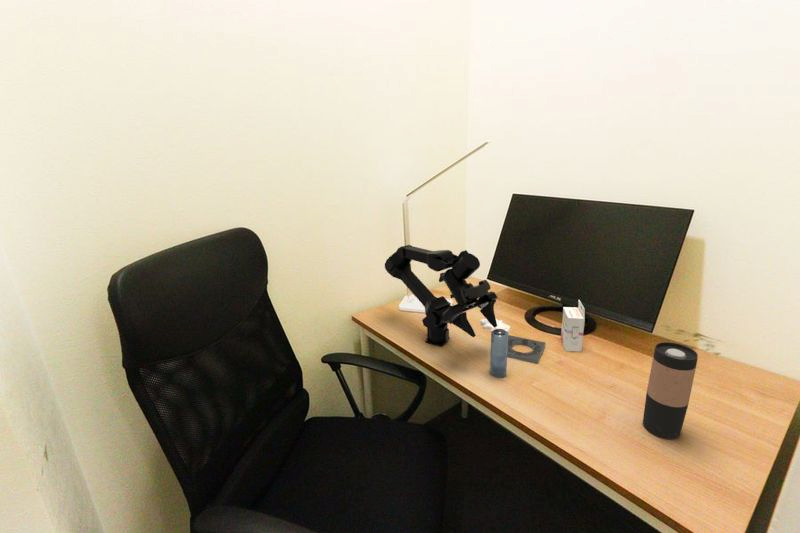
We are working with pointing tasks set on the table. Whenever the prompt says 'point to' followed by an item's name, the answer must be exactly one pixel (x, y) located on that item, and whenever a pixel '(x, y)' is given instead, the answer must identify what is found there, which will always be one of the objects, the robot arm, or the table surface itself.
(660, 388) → the travel mug
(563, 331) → the ink cartridge box
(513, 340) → the square metal washer
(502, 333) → the thermos bottle
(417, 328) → the table surface
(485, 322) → the astronaut figurine
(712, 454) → the table surface
